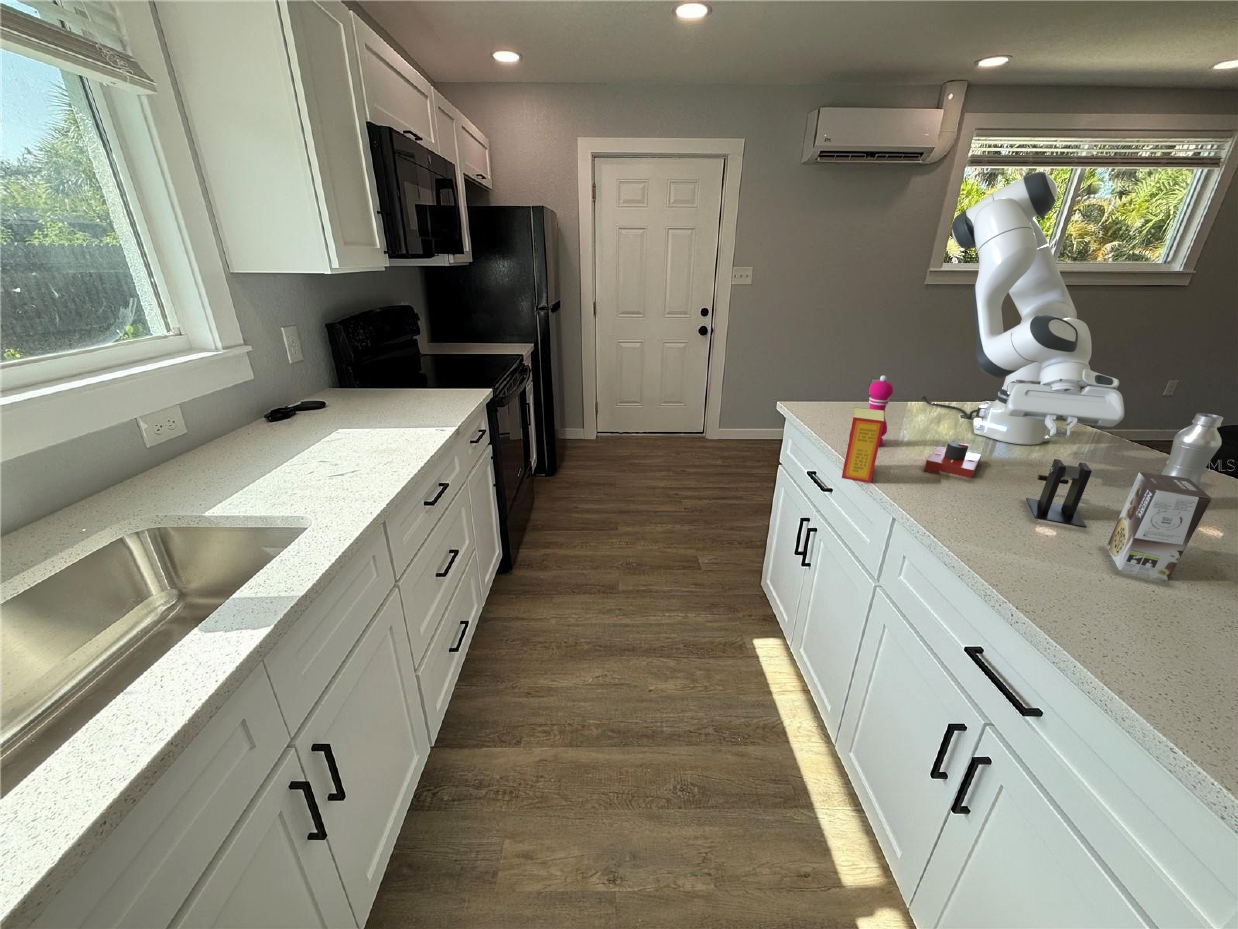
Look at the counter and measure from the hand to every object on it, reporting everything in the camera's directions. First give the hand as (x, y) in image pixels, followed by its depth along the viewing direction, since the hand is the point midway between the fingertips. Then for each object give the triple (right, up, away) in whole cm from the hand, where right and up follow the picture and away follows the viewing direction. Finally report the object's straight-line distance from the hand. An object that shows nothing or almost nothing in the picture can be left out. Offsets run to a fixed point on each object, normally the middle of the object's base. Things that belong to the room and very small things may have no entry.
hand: (1059, 436), depth 109 cm
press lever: (-6, -10, -7) cm, 13 cm away
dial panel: (-12, -7, +17) cm, 22 cm away
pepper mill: (-25, 0, +34) cm, 42 cm away
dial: (-12, -4, +16) cm, 21 cm away
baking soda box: (-38, -9, +15) cm, 42 cm away
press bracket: (-7, -17, -6) cm, 20 cm away
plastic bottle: (+23, -15, -1) cm, 27 cm away
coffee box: (-8, -24, -23) cm, 34 cm away
